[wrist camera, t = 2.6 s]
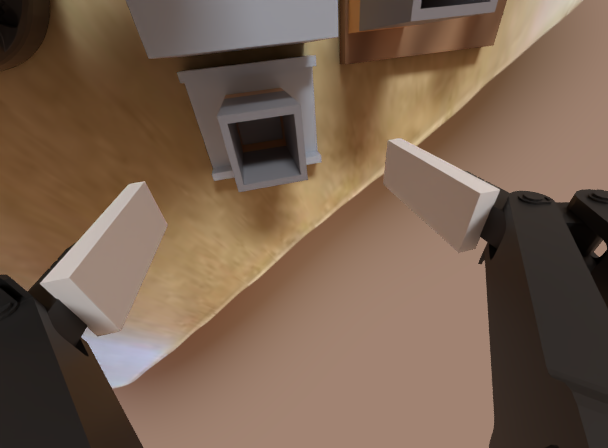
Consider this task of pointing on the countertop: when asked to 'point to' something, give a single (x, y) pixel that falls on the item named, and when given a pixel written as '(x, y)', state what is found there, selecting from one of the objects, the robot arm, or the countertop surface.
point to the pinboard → (417, 37)
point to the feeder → (239, 77)
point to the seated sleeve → (410, 12)
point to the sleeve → (270, 154)
